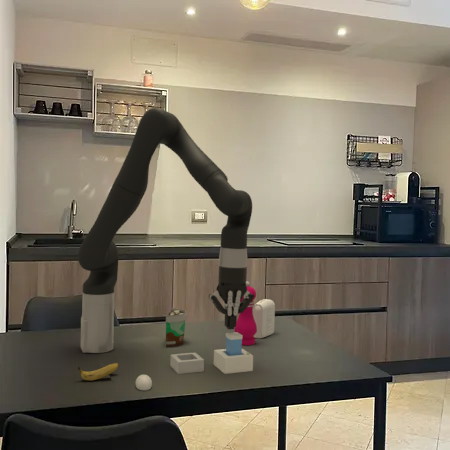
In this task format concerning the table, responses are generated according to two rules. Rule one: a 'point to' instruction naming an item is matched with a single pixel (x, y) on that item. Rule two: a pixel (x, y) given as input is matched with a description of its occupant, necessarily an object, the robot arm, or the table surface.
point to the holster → (187, 363)
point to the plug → (233, 344)
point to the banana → (98, 372)
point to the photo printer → (264, 317)
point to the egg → (143, 382)
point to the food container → (175, 327)
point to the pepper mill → (247, 321)
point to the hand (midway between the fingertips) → (230, 328)
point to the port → (233, 361)
